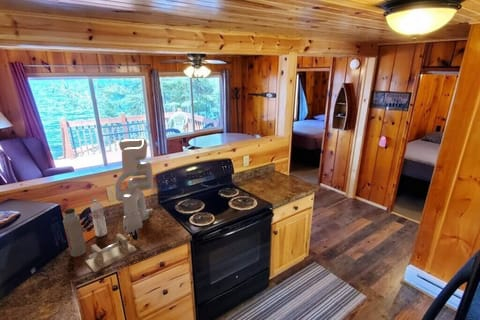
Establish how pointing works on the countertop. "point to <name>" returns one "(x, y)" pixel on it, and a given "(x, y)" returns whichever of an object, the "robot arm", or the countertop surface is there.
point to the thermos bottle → (74, 233)
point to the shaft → (111, 246)
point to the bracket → (110, 254)
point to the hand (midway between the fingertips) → (135, 239)
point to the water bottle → (98, 219)
